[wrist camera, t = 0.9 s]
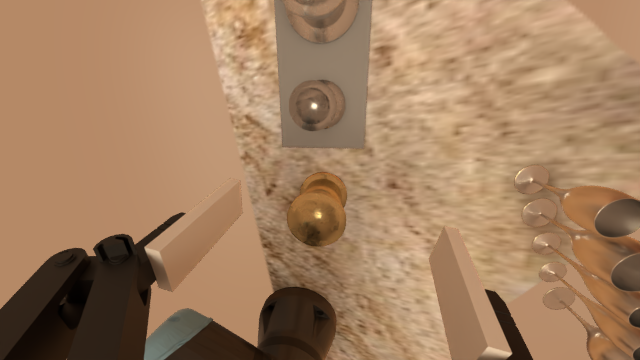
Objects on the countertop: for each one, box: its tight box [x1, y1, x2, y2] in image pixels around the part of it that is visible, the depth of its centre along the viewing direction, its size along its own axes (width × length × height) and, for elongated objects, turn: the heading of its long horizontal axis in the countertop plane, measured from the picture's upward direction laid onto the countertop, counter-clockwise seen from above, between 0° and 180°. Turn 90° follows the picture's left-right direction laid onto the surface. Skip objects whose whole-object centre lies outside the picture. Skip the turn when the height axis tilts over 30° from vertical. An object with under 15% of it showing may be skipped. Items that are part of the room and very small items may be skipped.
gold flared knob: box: [287, 172, 347, 246], centre depth 34 cm, size 8×8×9 cm
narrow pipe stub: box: [289, 80, 345, 131], centre depth 28 cm, size 6×6×9 cm
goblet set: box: [514, 165, 640, 360], centre depth 30 cm, size 28×6×13 cm, turn 25°
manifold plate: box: [274, 0, 372, 149], centre depth 31 cm, size 24×12×2 cm, turn 0°
